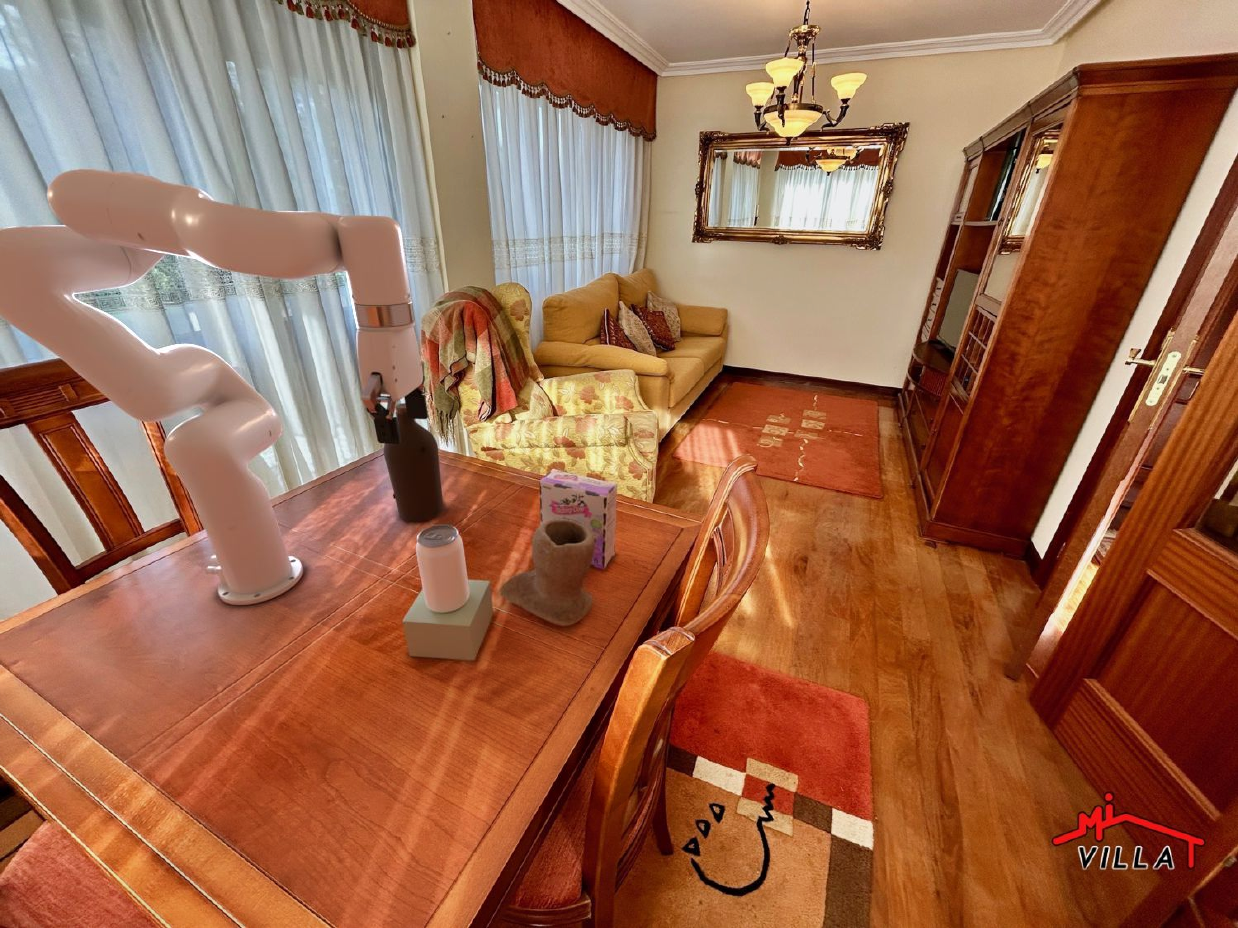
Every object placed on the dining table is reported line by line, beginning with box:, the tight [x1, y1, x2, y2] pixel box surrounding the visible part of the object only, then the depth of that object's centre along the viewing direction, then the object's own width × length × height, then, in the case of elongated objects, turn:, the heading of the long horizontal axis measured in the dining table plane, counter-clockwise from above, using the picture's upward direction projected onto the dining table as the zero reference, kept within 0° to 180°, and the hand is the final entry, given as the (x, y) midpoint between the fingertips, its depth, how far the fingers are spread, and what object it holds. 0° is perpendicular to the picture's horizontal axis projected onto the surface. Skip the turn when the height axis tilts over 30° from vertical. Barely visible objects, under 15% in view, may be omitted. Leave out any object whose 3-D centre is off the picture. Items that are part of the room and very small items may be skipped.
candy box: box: [538, 468, 618, 570], centre depth 96 cm, size 14×6×16 cm, turn 68°
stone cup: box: [498, 519, 595, 627], centre depth 84 cm, size 15×12×15 cm
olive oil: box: [383, 402, 444, 523], centre depth 106 cm, size 11×11×25 cm
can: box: [415, 523, 469, 613], centre depth 74 cm, size 6×6×12 cm
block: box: [401, 579, 494, 661], centre depth 78 cm, size 10×10×7 cm
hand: (404, 429), depth 77 cm, fingers open, 9 cm apart
